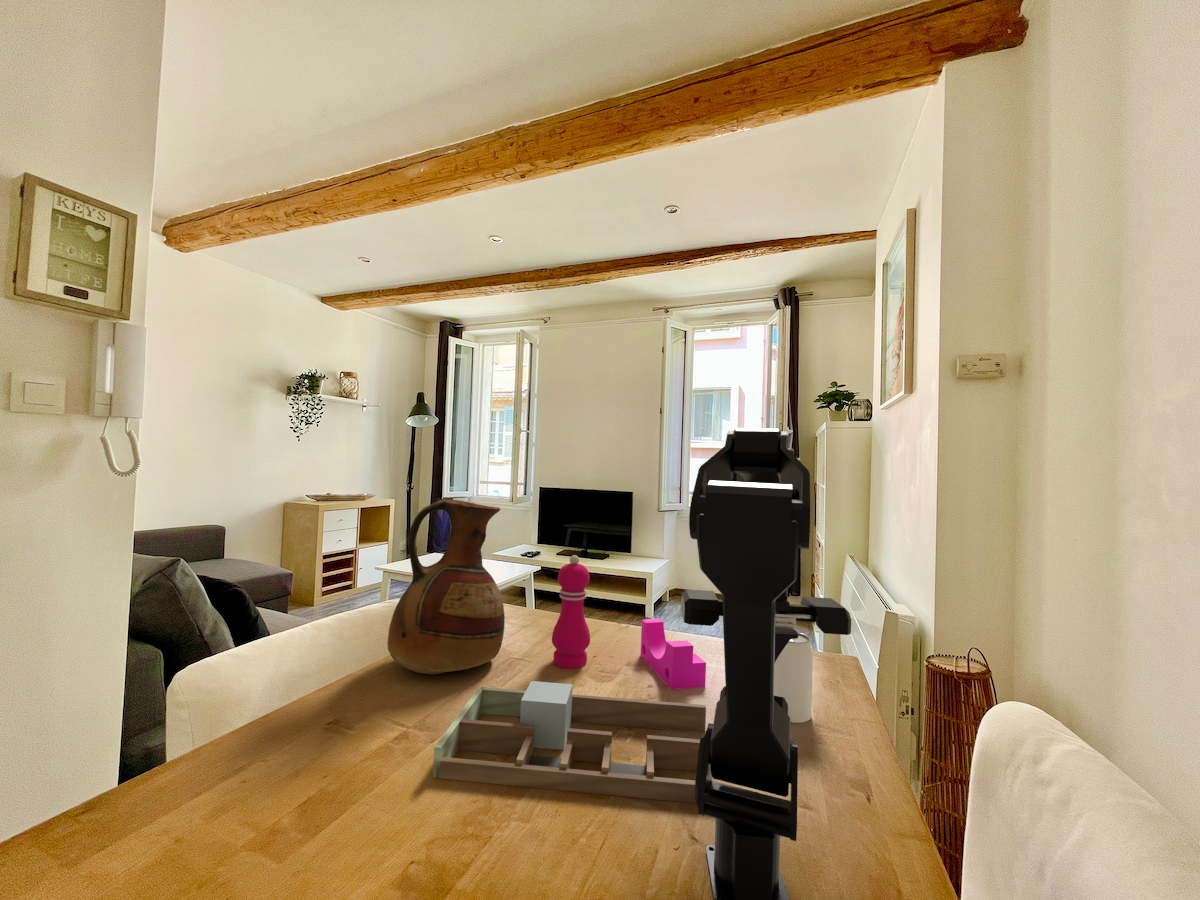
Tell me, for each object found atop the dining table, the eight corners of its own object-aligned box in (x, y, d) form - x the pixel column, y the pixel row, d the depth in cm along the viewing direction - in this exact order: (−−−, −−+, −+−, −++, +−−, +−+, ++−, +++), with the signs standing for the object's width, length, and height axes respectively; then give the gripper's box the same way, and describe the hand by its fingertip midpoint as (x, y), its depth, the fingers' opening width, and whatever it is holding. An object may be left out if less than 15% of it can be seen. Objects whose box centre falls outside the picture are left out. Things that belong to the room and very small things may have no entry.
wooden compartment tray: (722, 805, 56) (723, 773, 56) (432, 777, 59) (434, 747, 59) (704, 729, 73) (705, 705, 73) (478, 710, 75) (479, 686, 75)
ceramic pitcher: (512, 679, 87) (520, 504, 88) (384, 694, 79) (394, 502, 80) (492, 640, 105) (499, 495, 106) (387, 650, 97) (395, 494, 98)
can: (762, 717, 77) (765, 637, 77) (770, 701, 83) (772, 626, 83) (808, 729, 74) (811, 646, 74) (813, 711, 80) (815, 634, 80)
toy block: (705, 689, 87) (706, 644, 87) (671, 692, 85) (673, 646, 85) (669, 656, 101) (671, 618, 101) (640, 658, 99) (641, 619, 100)
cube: (564, 750, 66) (566, 704, 66) (518, 746, 67) (521, 700, 67) (570, 727, 72) (572, 684, 72) (529, 723, 73) (531, 681, 73)
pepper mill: (545, 657, 97) (550, 552, 98) (580, 653, 100) (584, 551, 101) (558, 672, 90) (563, 559, 91) (595, 667, 93) (600, 558, 94)
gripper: (820, 545, 68) (816, 663, 68) (680, 538, 70) (675, 653, 69) (854, 561, 57) (851, 701, 57) (687, 551, 59) (682, 688, 58)
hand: (759, 683), depth 60 cm, fingers closed
